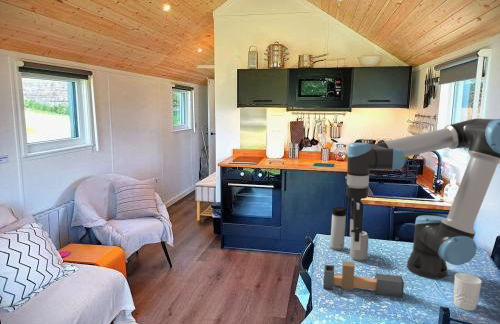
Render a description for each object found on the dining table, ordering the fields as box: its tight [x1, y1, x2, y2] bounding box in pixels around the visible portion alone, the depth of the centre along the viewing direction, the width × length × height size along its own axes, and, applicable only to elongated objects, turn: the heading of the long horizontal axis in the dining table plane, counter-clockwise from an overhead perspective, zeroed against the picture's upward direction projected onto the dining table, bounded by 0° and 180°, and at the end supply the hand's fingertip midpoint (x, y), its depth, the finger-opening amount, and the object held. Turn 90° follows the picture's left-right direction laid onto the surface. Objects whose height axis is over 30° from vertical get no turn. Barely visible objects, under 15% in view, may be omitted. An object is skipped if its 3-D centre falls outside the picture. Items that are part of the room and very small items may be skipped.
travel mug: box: [329, 206, 348, 252], centre depth 169 cm, size 6×7×20 cm
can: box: [349, 230, 370, 262], centre depth 159 cm, size 8×8×12 cm
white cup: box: [453, 272, 482, 312], centre depth 122 cm, size 8×8×10 cm
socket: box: [323, 264, 335, 291], centre depth 134 cm, size 4×6×7 cm, turn 167°
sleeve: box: [374, 272, 405, 299], centre depth 130 cm, size 9×5×6 cm, turn 77°
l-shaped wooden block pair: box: [333, 260, 377, 291], centre depth 132 cm, size 18×4×9 cm, turn 77°
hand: (354, 242), depth 132 cm, fingers open, 13 cm apart
